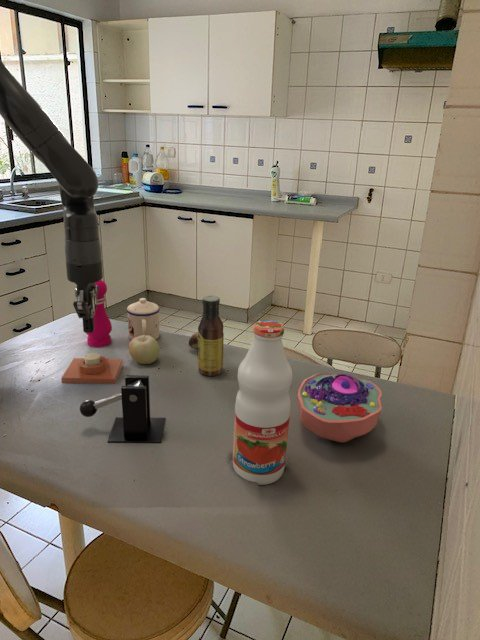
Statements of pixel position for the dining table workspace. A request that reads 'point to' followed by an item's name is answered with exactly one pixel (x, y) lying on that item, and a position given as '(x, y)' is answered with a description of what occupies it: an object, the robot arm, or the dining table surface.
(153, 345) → the fruit
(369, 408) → the cell model
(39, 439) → the dining table surface
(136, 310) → the teacup with lid
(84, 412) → the tap lever
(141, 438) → the bracket
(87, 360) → the button
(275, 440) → the fruit juice
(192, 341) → the mushroom
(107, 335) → the pepper mill
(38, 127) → the robot arm
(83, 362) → the tiered orange pedestal
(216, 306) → the sauce bottle
